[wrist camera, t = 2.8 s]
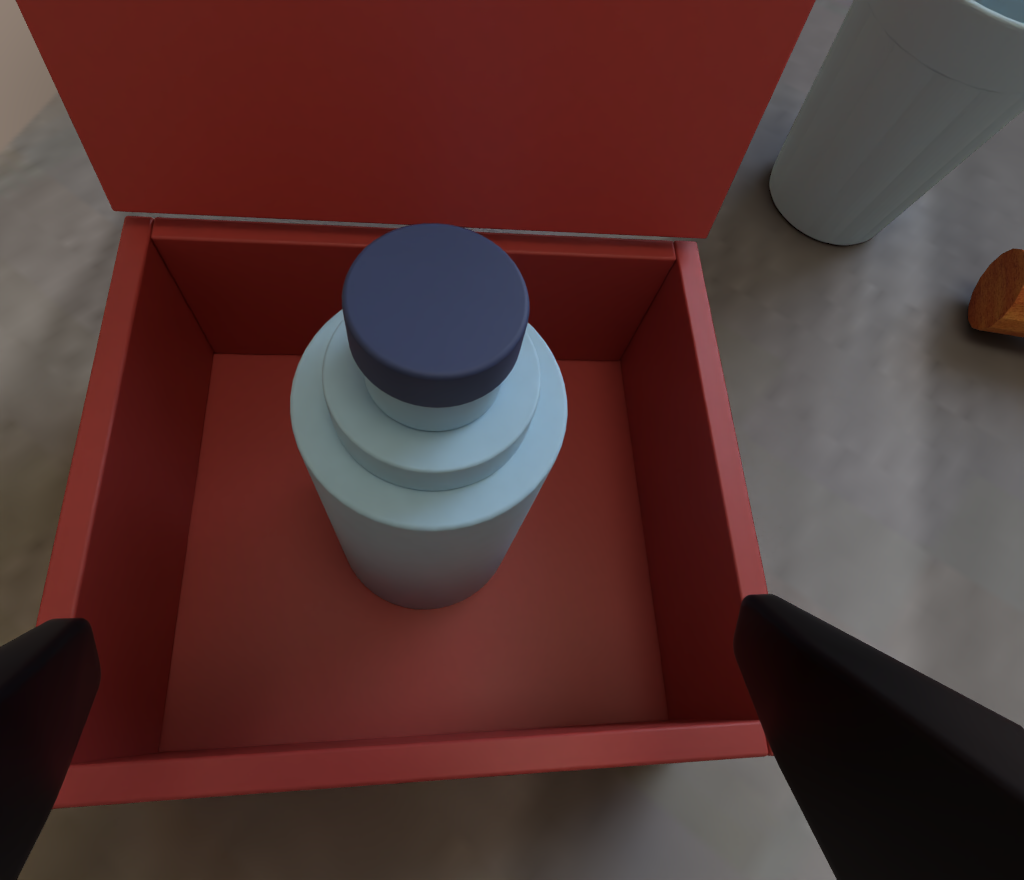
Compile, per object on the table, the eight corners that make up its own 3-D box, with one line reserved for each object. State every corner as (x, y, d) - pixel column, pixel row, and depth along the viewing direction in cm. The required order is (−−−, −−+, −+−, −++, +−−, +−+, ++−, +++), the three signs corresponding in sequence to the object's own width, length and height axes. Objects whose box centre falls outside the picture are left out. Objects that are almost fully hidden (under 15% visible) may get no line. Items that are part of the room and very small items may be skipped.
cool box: (686, 743, 20) (801, 754, 14) (136, 781, 17) (-8, 813, 12) (630, 354, 25) (696, 240, 19) (201, 346, 23) (124, 214, 17)
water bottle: (460, 641, 19) (518, 535, 8) (307, 558, 20) (163, 348, 8) (536, 495, 21) (665, 251, 10) (397, 421, 22) (376, 110, 11)
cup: (712, 195, 29) (860, -66, 19) (792, 109, 32) (955, -153, 22) (860, 297, 27) (1096, 74, 18) (929, 198, 30) (1162, -38, 21)
